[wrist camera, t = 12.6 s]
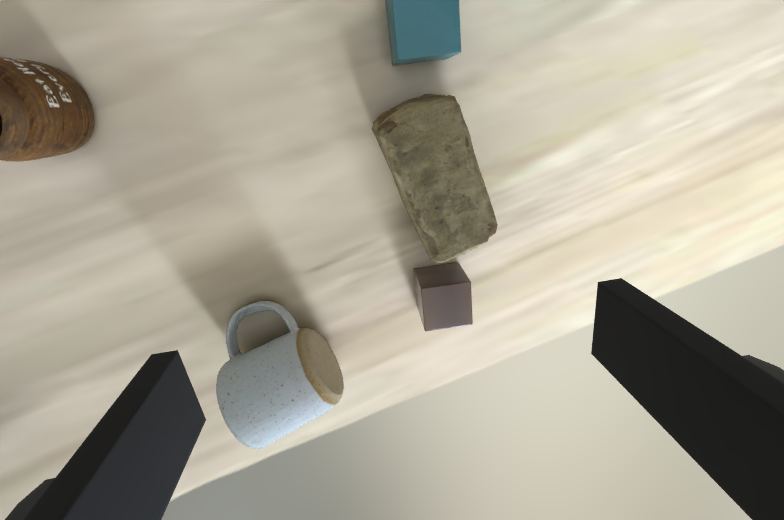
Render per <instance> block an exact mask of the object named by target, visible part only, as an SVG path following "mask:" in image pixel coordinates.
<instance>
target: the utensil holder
mask: <svg viewBox="0 0 784 520" xmlns="http://www.w3.org/2000/svg"><path fill="white" fill-rule="evenodd" d="M93 128H94V114H93V109H92V106H91V104H90V101H89V99H88V97H87V96H86V94H85V93H84V91H83V90H82V88H81V87H80V86H79V85H78V84H77V83H76V82H75V81H74V80H73V79H72V78H70V77H69V76H68V75H66V74H65V73H63V72H62V71H60V70H58V69H56V68H54V67H51V66H49V65H46V64H42V63H38V62H34V61H28V60H21V59H13V58H4V57H0V160H3V161H28V160H35V159H41V158H46V157H52V156H57V155H61V154H66V153H69V152H72V151H74V150H76V149H78V148H80V147H81V146H83V145H84V144H85V143H86V142H87V141H88V139H89V138H90V136H91V134H92V131H93Z"/></svg>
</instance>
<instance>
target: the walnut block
mask: <svg viewBox="0 0 784 520" xmlns="http://www.w3.org/2000/svg"><path fill="white" fill-rule="evenodd" d="M414 276H415V286H416V295H417V305H418V310H419V313H420V317H421V320H422V323H423V326H424V330H425V331H431V330H438V329H445V328H451V327H458V326H465V325H471V324H472V300H471V281H470V280H469V278H468V277H467V275H466V274H465V272H464V270H463V269H462V267H461V266H460V264H459V263H458V262H457V263H450V264H443V265H436V266H429V267H422V268H415V269H414Z"/></svg>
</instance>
